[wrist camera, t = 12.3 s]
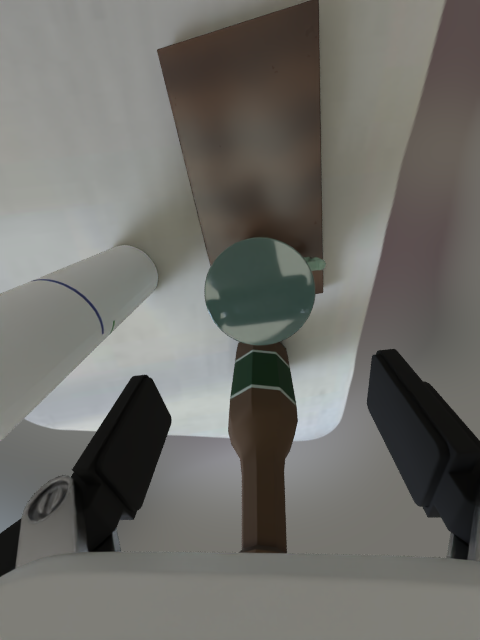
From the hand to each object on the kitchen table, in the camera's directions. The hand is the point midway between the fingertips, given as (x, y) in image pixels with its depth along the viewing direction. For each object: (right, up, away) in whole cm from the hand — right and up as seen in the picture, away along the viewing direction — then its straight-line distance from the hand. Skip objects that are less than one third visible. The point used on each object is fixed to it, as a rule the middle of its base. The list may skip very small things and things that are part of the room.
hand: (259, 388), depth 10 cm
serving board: (+1, +17, +15) cm, 23 cm away
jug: (+3, +9, +17) cm, 19 cm away
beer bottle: (+2, -2, +26) cm, 26 cm away
